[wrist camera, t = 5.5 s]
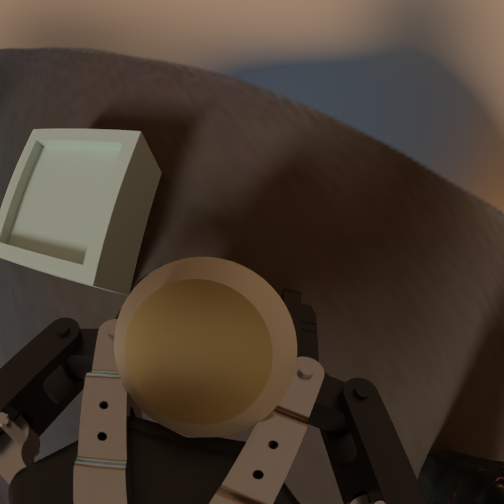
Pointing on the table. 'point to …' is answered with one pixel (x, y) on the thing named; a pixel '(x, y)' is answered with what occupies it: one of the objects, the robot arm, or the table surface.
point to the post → (205, 347)
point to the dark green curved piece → (461, 479)
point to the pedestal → (80, 205)
